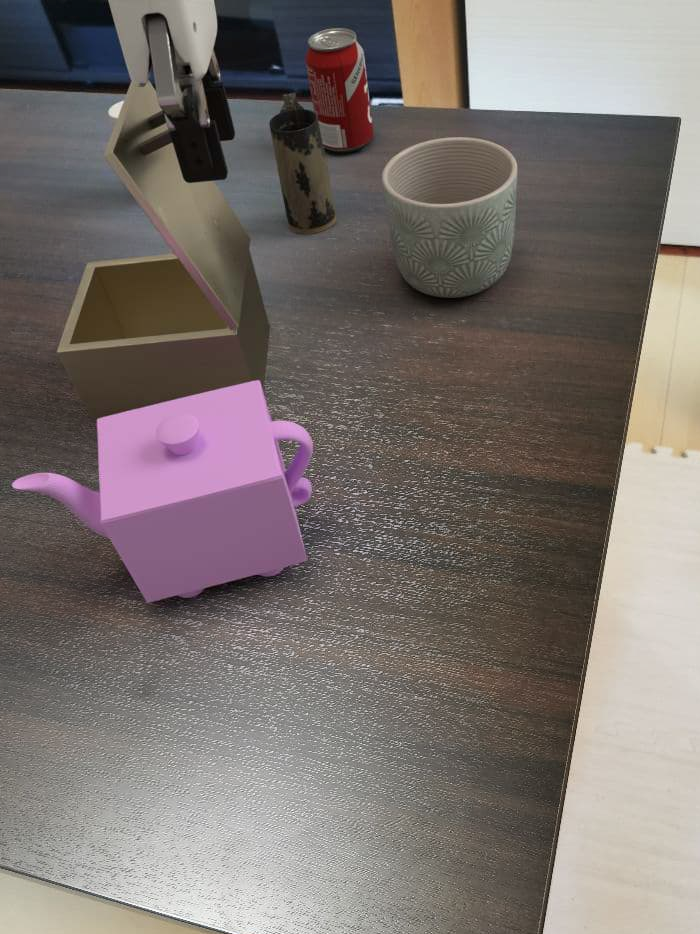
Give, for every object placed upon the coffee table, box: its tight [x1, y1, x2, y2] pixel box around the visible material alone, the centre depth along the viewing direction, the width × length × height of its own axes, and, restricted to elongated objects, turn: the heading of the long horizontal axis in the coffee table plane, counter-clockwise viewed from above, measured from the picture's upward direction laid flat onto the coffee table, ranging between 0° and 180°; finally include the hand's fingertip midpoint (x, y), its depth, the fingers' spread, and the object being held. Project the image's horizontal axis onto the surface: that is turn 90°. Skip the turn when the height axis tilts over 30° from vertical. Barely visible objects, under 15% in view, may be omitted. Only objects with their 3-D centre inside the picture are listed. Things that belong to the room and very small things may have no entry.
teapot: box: [11, 380, 314, 604], centre depth 60 cm, size 20×10×12 cm, turn 105°
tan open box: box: [56, 249, 271, 430], centre depth 75 cm, size 15×13×9 cm
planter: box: [381, 136, 519, 299], centre depth 81 cm, size 12×12×11 cm
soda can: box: [305, 27, 374, 154], centre depth 100 cm, size 7×7×12 cm
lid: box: [103, 80, 252, 330], centre depth 65 cm, size 16×13×5 cm
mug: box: [268, 91, 338, 235], centre depth 90 cm, size 8×6×12 cm
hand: (210, 156), depth 63 cm, fingers closed on lid, 5 cm apart
